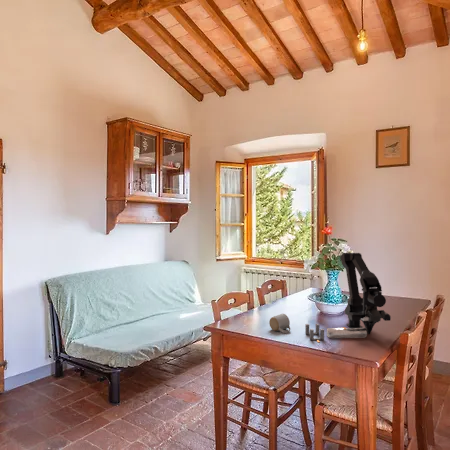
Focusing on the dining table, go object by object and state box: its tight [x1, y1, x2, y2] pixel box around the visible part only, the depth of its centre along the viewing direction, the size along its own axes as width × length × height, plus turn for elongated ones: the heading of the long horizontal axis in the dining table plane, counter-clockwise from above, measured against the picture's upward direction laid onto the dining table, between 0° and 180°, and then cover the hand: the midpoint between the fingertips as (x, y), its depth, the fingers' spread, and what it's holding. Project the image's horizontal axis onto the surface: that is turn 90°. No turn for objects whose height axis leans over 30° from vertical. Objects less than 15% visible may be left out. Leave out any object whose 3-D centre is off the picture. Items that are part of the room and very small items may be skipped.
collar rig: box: [304, 323, 325, 343], centre depth 178 cm, size 15×6×5 cm, turn 2°
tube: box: [326, 326, 368, 339], centre depth 179 cm, size 18×4×5 cm, turn 92°
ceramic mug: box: [268, 313, 291, 334], centre depth 188 cm, size 11×8×8 cm
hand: (368, 334), depth 179 cm, fingers closed
